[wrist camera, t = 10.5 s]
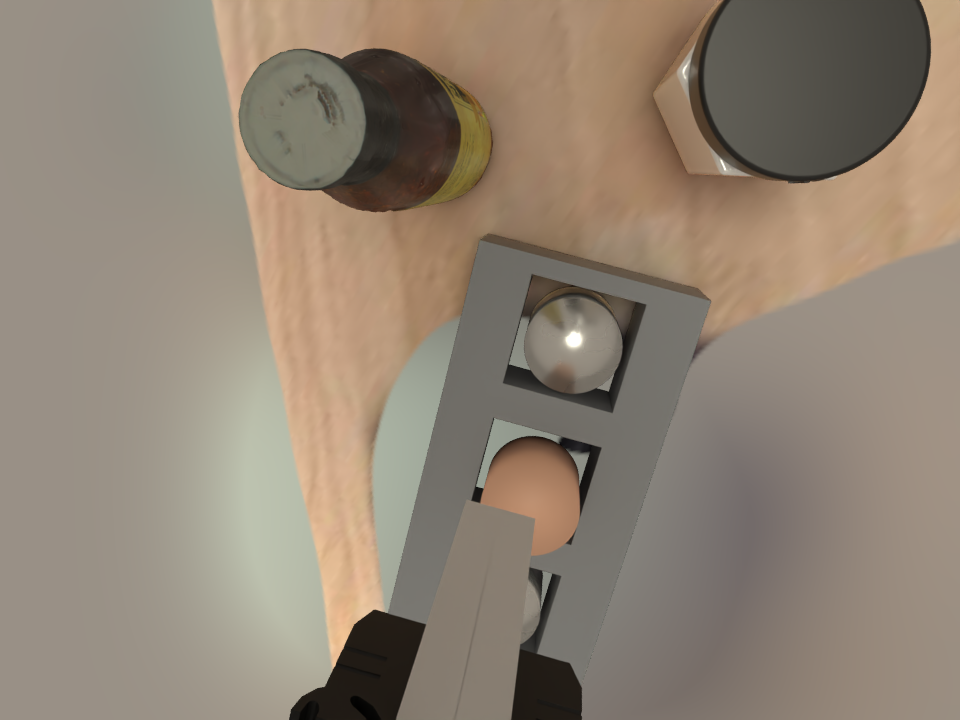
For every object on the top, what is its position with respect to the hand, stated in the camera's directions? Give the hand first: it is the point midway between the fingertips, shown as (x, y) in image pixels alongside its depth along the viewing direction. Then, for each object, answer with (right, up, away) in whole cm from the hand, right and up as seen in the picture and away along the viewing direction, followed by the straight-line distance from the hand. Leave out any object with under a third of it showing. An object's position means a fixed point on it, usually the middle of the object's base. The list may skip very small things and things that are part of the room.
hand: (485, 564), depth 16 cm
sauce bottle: (-3, +16, +25) cm, 30 cm away
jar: (+13, +18, +23) cm, 32 cm away
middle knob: (+3, -2, +25) cm, 26 cm away
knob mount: (+3, -1, +29) cm, 29 cm away
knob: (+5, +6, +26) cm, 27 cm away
